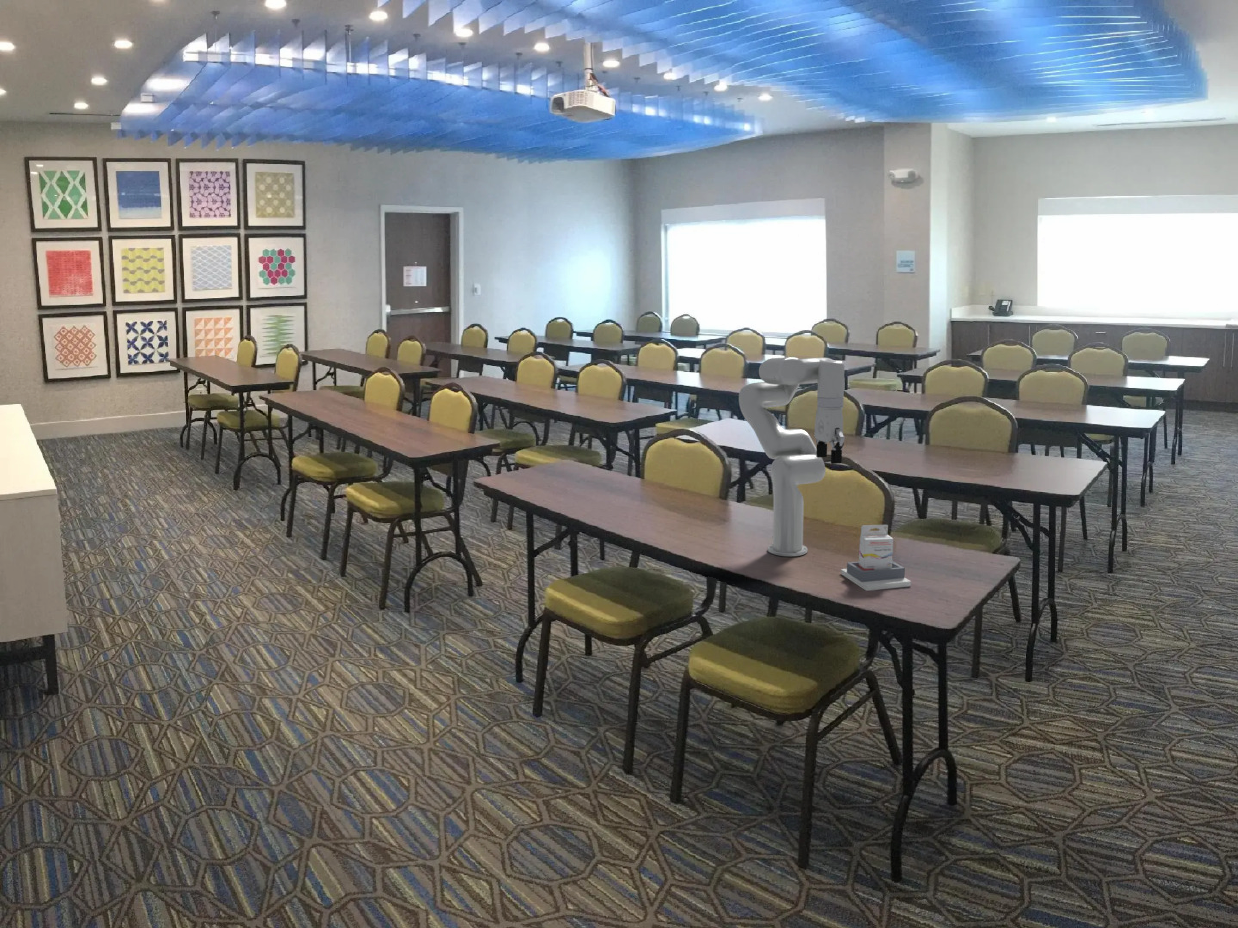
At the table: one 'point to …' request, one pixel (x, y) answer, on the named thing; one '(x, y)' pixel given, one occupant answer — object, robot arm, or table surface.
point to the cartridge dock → (876, 577)
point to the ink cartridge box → (875, 548)
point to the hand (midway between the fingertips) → (828, 460)
